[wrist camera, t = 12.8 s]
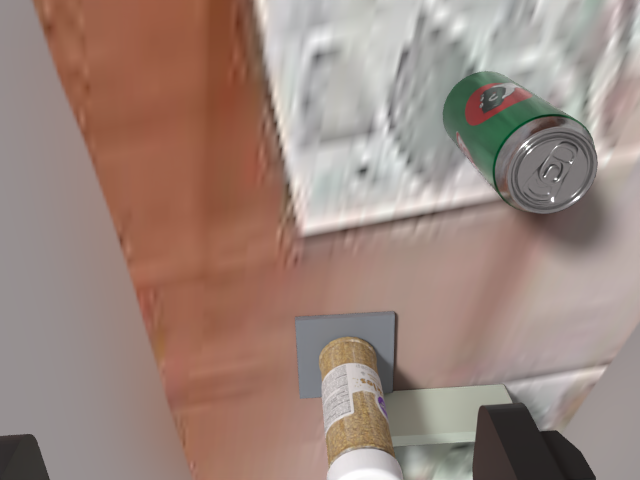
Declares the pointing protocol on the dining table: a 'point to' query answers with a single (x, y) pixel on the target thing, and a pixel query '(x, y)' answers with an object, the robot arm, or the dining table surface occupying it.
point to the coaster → (327, 328)
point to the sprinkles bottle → (355, 413)
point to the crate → (439, 413)
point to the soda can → (520, 143)
